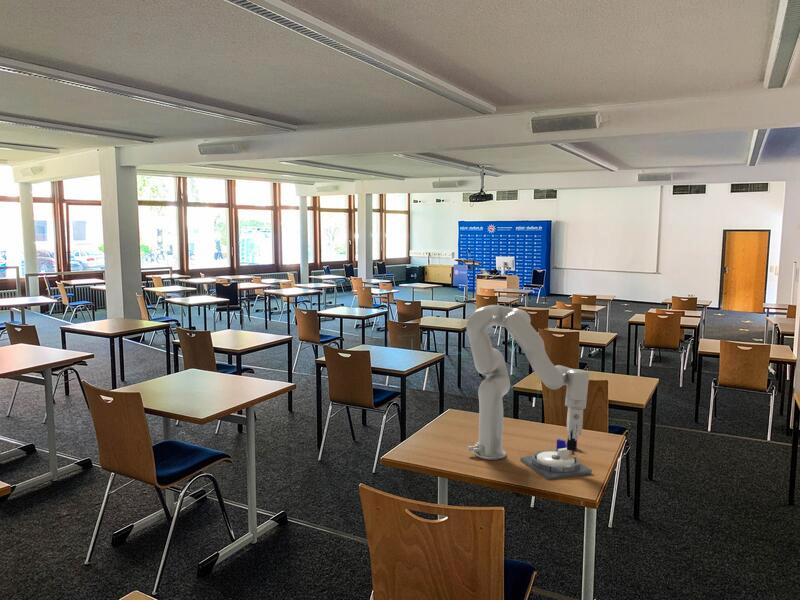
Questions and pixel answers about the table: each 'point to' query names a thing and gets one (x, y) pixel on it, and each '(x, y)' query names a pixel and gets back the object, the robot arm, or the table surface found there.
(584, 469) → the panel
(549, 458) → the dial
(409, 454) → the table surface
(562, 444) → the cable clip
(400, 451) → the table surface
